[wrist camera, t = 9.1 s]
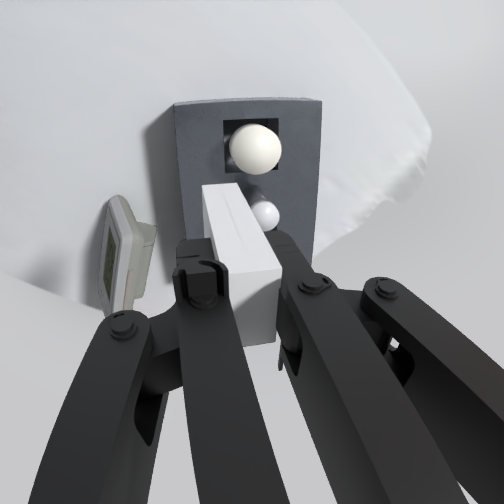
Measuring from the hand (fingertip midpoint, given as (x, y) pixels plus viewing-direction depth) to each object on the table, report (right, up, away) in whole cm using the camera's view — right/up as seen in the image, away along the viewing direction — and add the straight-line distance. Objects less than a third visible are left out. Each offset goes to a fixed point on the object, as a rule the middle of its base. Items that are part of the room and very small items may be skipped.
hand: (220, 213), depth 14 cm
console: (+1, +7, +26) cm, 27 cm away
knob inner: (+1, +12, +23) cm, 26 cm away
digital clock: (-16, -1, +28) cm, 32 cm away
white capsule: (+1, +5, +22) cm, 23 cm away
